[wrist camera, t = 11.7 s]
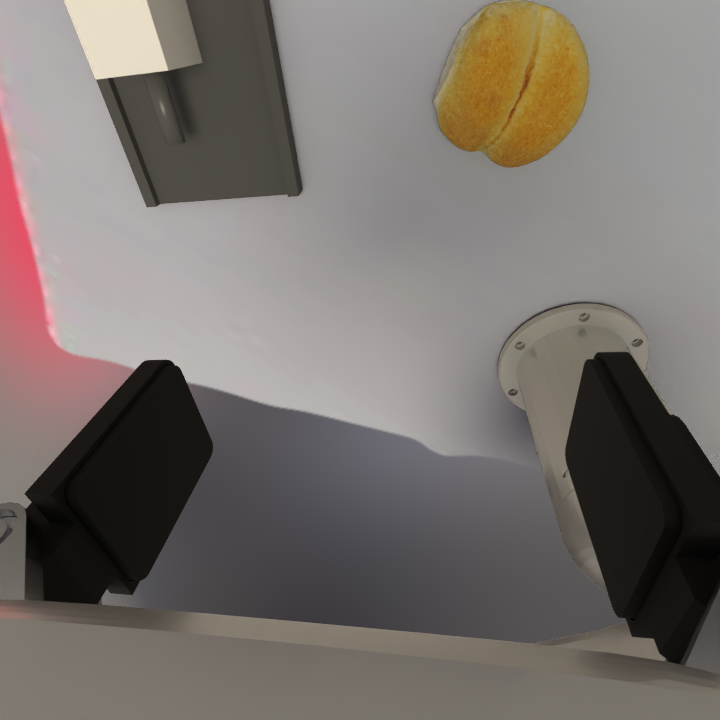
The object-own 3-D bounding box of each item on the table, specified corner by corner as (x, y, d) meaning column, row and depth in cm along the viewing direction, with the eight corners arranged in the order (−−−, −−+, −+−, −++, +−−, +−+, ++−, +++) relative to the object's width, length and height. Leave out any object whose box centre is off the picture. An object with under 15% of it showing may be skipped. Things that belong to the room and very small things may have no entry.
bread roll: (534, 176, 31) (548, 194, 28) (419, 126, 30) (419, 139, 27) (614, 41, 26) (641, 44, 23) (479, -25, 25) (489, -31, 22)
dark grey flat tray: (302, 189, 33) (298, 195, 32) (155, 201, 35) (146, 207, 34) (226, -240, 21) (216, -254, 20) (5, -191, 23) (-16, -202, 21)
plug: (221, 132, 30) (193, 149, 26) (162, 138, 31) (126, 155, 27) (150, -131, 23) (96, -161, 19) (74, -116, 23) (7, -142, 20)
